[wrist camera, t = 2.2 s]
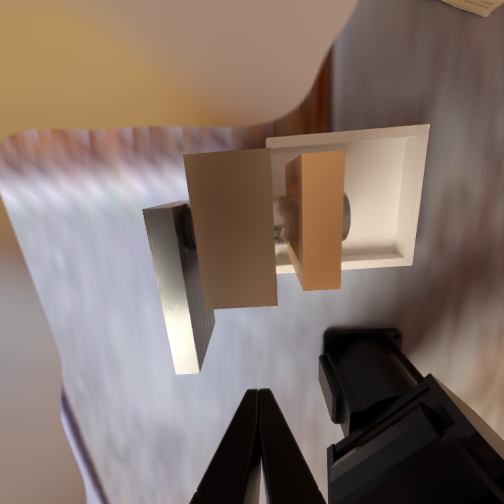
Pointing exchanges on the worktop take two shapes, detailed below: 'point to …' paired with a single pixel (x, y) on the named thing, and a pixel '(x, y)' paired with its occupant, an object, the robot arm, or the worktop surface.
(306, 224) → the block
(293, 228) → the grey piece
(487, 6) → the coffeecake box
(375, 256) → the tray
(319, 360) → the robot arm
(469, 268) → the worktop surface
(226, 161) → the block
